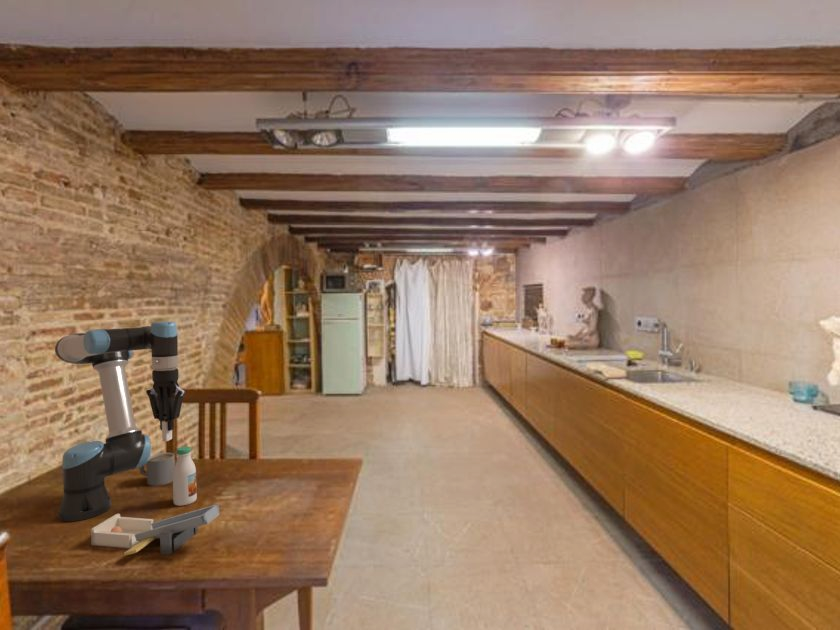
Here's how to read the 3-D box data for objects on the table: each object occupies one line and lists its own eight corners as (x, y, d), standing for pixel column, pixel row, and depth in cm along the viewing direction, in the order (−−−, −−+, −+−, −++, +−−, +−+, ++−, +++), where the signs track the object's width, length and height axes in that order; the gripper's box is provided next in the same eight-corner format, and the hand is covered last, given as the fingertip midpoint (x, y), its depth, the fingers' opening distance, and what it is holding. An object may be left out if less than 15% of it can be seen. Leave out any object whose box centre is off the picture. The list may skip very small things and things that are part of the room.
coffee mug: (180, 476, 192) (179, 453, 191) (163, 486, 182) (162, 461, 181) (152, 474, 194) (151, 451, 194) (134, 484, 184) (133, 459, 184)
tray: (91, 545, 139) (90, 529, 139) (117, 528, 149) (117, 513, 149) (129, 548, 137) (128, 532, 137) (153, 531, 147) (153, 516, 147)
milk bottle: (181, 508, 163) (179, 453, 162) (169, 503, 167) (167, 449, 166) (201, 499, 170) (199, 446, 169) (189, 495, 174) (187, 443, 173)
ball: (109, 527, 142) (117, 531, 142) (117, 523, 145) (125, 526, 145) (106, 536, 142) (114, 540, 142) (114, 531, 145) (122, 535, 145)
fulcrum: (160, 554, 134) (159, 532, 134) (188, 531, 147) (188, 511, 147) (169, 555, 134) (169, 533, 133) (197, 532, 146) (196, 512, 146)
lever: (119, 557, 131) (115, 547, 131) (158, 529, 147) (155, 520, 147) (190, 538, 127) (187, 527, 127) (223, 511, 143) (220, 502, 143)
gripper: (138, 370, 147) (141, 442, 148) (175, 371, 145) (177, 444, 146) (155, 366, 154) (157, 435, 155) (190, 367, 152) (192, 437, 153)
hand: (167, 439), depth 151 cm, fingers closed
